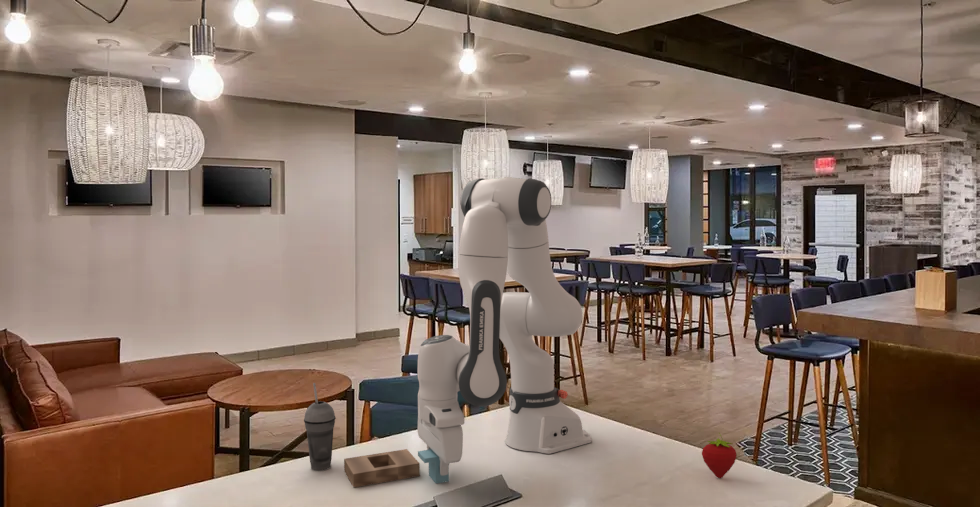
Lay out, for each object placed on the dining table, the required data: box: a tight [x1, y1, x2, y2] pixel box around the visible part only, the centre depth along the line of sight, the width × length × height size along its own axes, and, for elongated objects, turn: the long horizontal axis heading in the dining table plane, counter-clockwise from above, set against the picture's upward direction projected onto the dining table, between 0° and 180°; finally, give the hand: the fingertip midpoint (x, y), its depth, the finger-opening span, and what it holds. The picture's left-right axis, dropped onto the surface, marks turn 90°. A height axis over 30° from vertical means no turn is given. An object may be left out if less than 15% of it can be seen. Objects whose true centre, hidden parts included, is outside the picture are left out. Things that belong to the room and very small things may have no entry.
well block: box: [343, 448, 421, 488], centre depth 151 cm, size 15×10×3 cm, turn 114°
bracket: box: [417, 449, 450, 484], centre depth 148 cm, size 6×5×6 cm
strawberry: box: [701, 432, 738, 479], centre depth 147 cm, size 6×8×10 cm
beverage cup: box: [303, 382, 337, 472], centre depth 155 cm, size 7×7×20 cm
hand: (438, 469), depth 148 cm, fingers closed on bracket, 5 cm apart
